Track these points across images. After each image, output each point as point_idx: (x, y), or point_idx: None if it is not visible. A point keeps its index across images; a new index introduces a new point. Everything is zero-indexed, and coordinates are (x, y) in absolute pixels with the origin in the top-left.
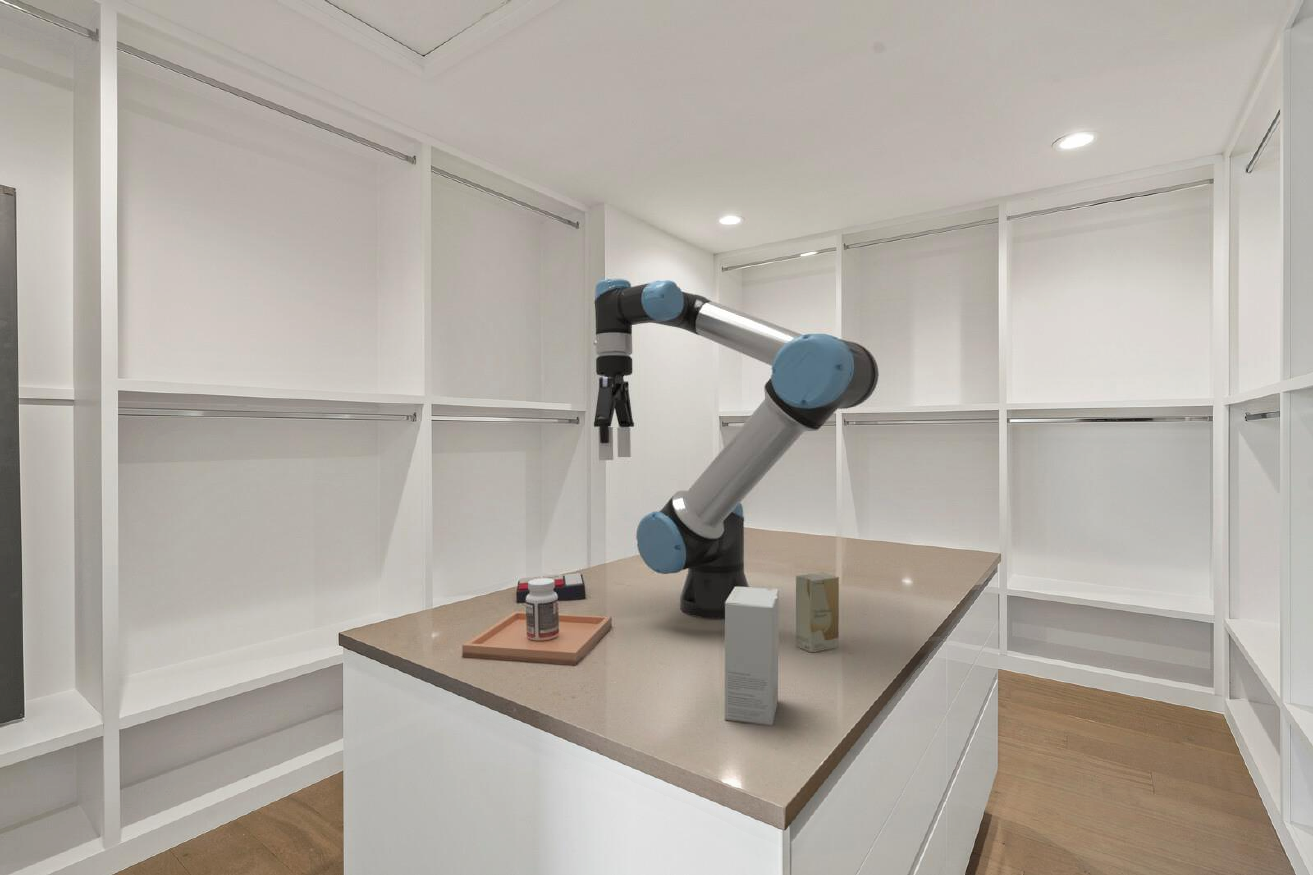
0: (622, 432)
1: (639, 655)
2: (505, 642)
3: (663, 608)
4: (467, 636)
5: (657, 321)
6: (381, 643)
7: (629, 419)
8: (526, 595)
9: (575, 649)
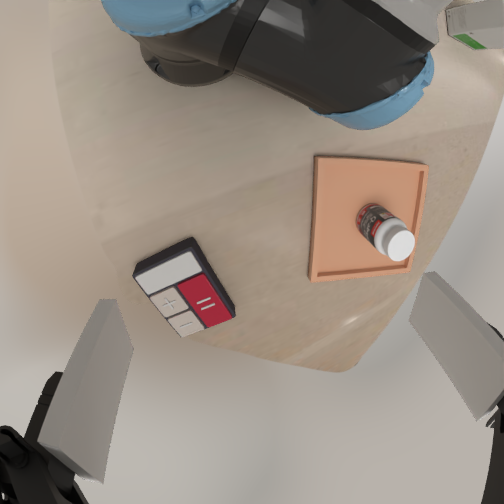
0: (93, 440)
1: None
2: None
3: (211, 109)
4: (356, 293)
5: None
6: (370, 339)
7: (24, 493)
8: (230, 304)
9: (422, 168)
